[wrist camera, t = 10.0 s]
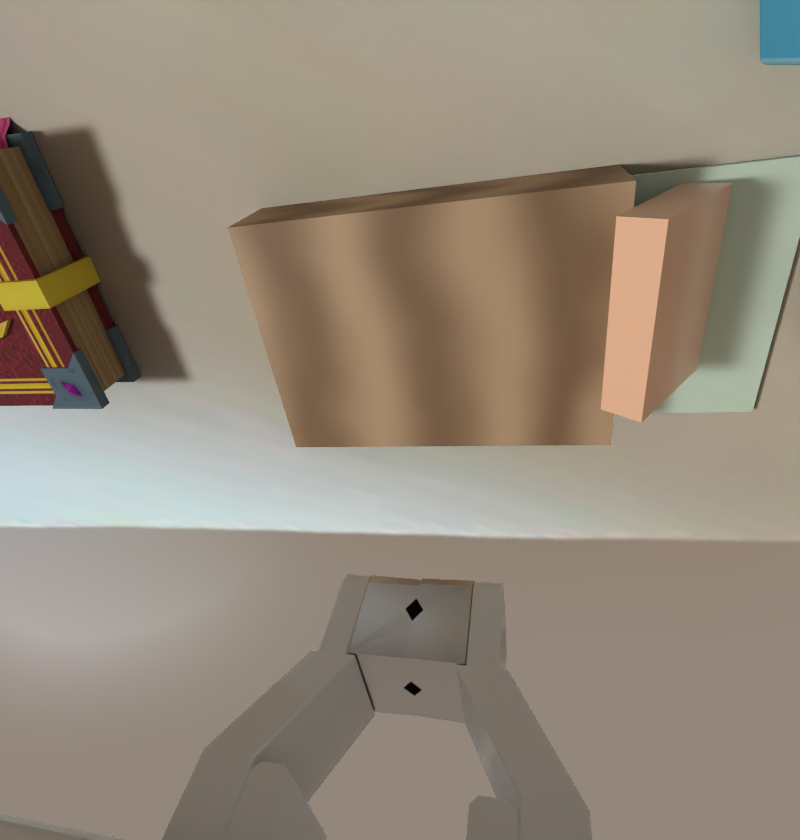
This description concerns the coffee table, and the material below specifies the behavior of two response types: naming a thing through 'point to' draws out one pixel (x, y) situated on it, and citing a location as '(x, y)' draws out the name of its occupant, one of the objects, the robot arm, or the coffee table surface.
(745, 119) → the coffee table surface
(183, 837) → the robot arm
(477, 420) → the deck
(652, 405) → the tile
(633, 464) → the coffee table surface
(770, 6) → the data package
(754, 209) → the mat
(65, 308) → the decorative book
